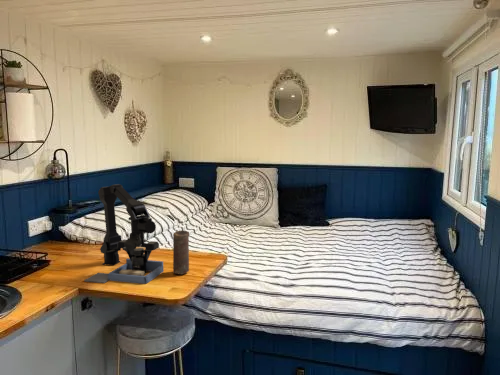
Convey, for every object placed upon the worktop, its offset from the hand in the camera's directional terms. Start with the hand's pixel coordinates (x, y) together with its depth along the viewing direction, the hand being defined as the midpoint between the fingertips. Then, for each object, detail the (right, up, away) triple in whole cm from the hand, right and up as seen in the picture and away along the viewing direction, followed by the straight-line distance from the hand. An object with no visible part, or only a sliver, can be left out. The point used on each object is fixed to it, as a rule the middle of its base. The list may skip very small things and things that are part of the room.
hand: (139, 262), depth 179 cm
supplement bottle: (0, -6, +1) cm, 6 cm away
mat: (-16, -6, -5) cm, 18 cm away
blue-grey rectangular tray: (0, -6, -1) cm, 6 cm away
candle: (+20, -6, +1) cm, 21 cm away
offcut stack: (-2, -7, -6) cm, 9 cm away
